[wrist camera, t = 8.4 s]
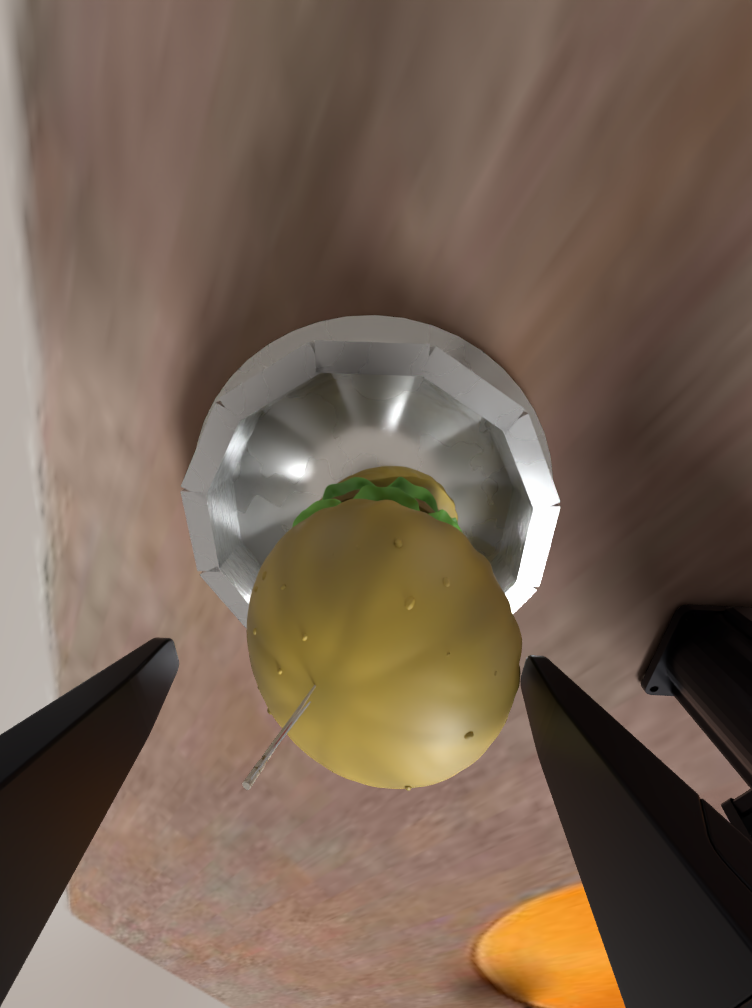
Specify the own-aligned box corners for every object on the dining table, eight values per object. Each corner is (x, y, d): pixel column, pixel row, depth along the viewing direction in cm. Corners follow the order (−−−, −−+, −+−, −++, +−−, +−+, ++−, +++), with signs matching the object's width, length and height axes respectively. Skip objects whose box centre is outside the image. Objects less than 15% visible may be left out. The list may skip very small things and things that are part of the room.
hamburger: (398, 602, 19) (411, 957, 8) (278, 538, 17) (88, 858, 6) (490, 491, 16) (713, 796, 5) (356, 404, 15) (258, 563, 4)
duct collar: (510, 645, 20) (530, 693, 18) (226, 631, 21) (201, 676, 18) (591, 323, 14) (644, 315, 11) (166, 309, 14) (109, 299, 11)
